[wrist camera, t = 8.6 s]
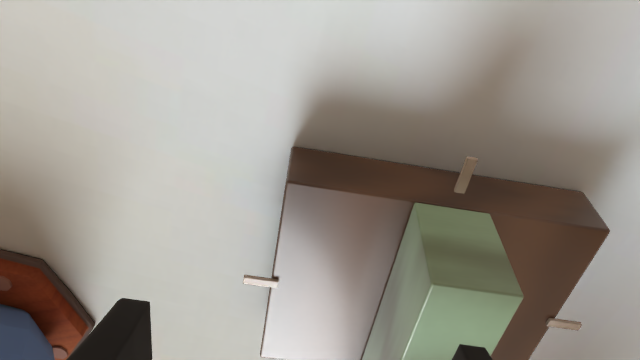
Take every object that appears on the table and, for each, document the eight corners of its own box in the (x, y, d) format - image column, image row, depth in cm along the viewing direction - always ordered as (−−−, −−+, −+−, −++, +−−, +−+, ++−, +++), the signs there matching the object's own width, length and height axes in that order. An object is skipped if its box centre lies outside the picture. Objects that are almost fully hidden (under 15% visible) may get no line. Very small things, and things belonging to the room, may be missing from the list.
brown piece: (635, 151, 19) (675, 191, 17) (501, 373, 27) (516, 420, 25) (269, 91, 18) (259, 125, 16) (241, 339, 26) (232, 384, 24)
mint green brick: (414, 201, 17) (433, 289, 14) (490, 213, 18) (527, 303, 14) (357, 371, 23) (360, 465, 19) (415, 379, 23) (429, 473, 20)
